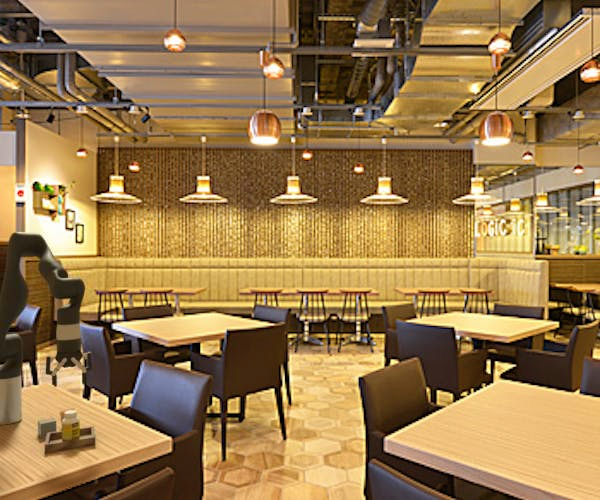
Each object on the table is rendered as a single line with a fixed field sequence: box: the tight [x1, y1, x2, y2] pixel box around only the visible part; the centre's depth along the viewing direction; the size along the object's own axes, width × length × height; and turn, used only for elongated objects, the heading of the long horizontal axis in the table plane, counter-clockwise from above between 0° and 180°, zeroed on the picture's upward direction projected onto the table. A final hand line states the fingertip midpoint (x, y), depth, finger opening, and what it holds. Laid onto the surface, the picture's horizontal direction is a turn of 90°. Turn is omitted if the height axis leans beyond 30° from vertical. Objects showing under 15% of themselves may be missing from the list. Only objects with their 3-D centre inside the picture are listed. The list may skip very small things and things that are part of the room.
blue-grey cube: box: [37, 417, 57, 439], centre depth 180 cm, size 5×5×5 cm
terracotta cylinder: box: [59, 407, 76, 426], centre depth 187 cm, size 5×5×6 cm
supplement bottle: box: [61, 409, 81, 441], centre depth 171 cm, size 5×5×10 cm
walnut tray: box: [44, 425, 96, 455], centre depth 171 cm, size 15×12×3 cm
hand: (69, 384), depth 171 cm, fingers open, 8 cm apart
